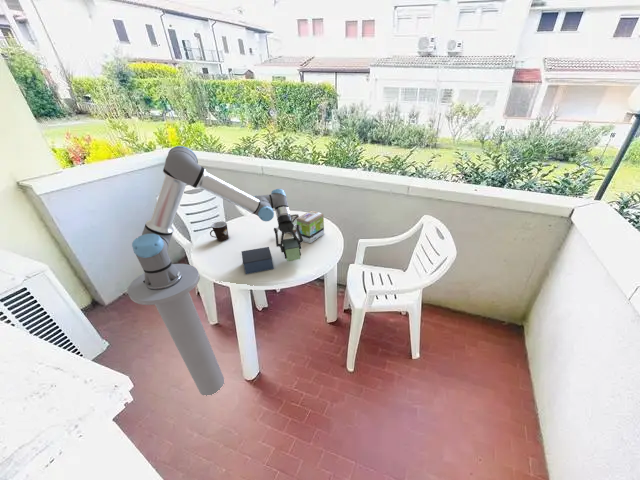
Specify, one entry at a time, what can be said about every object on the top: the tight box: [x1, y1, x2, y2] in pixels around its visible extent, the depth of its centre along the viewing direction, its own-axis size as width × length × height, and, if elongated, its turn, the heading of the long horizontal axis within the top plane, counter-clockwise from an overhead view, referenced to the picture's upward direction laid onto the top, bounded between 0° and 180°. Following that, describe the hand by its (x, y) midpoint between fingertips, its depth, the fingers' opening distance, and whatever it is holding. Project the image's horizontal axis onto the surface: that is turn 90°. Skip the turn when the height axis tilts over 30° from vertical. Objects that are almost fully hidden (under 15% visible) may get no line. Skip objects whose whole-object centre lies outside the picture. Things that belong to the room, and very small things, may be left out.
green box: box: [282, 237, 301, 262], centre depth 152 cm, size 7×10×8 cm
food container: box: [289, 213, 300, 236], centre depth 183 cm, size 12×6×10 cm, turn 168°
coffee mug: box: [209, 221, 230, 242], centre depth 173 cm, size 12×9×10 cm
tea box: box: [297, 210, 325, 244], centre depth 176 cm, size 15×10×15 cm
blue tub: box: [240, 246, 274, 275], centre depth 150 cm, size 14×12×7 cm
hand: (293, 256), depth 151 cm, fingers closed on green box, 7 cm apart
